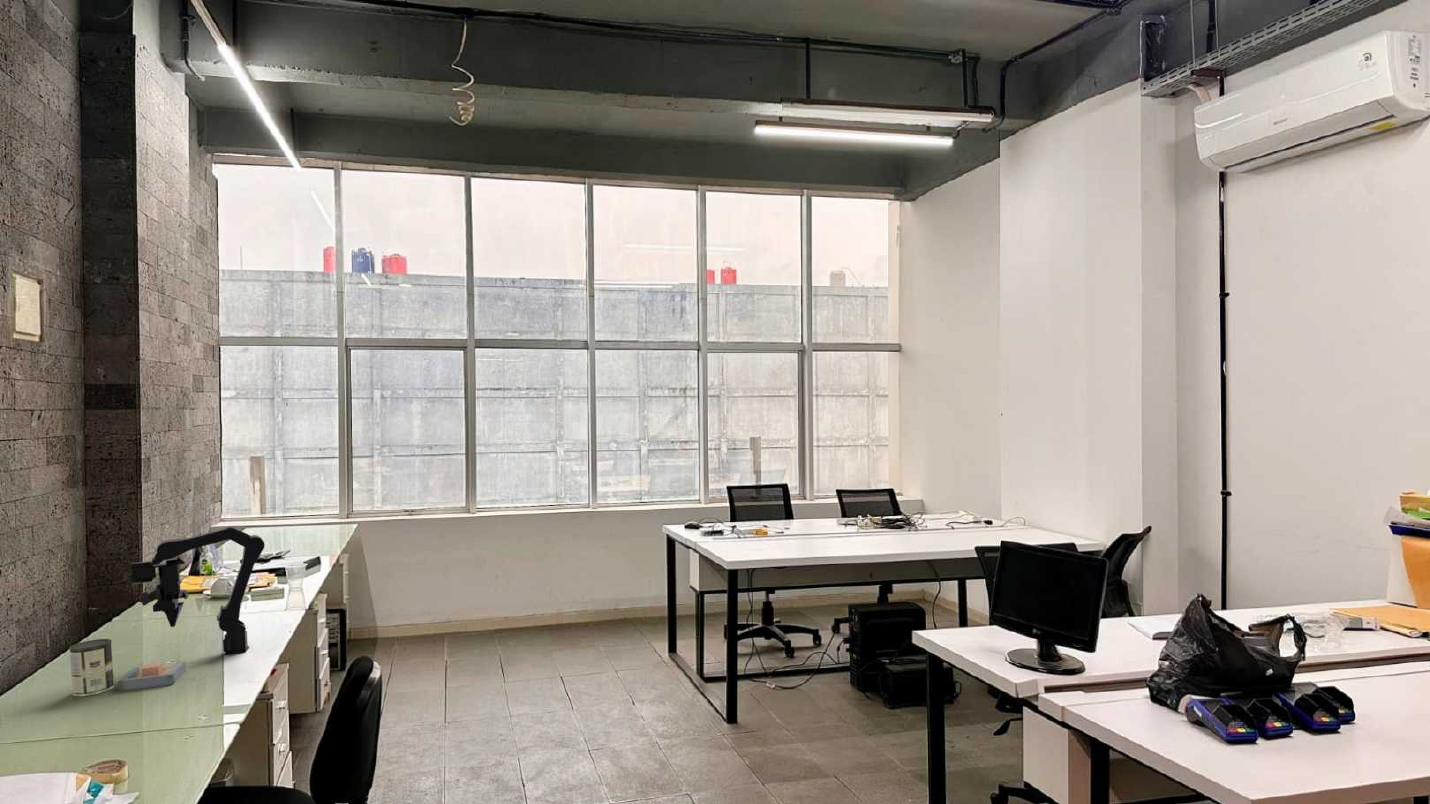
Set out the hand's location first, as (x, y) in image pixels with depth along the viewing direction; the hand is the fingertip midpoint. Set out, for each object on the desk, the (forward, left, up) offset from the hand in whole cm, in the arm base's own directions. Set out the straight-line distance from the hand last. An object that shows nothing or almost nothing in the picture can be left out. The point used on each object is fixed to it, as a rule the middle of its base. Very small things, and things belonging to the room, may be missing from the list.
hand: (172, 626), depth 285 cm
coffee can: (+16, +22, -12) cm, 29 cm away
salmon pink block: (+1, +20, -10) cm, 22 cm away
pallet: (+1, +19, -12) cm, 23 cm away
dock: (+1, +19, -12) cm, 22 cm away
